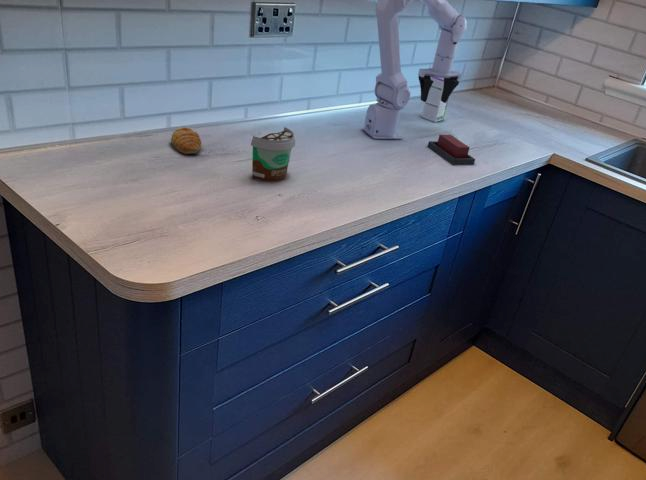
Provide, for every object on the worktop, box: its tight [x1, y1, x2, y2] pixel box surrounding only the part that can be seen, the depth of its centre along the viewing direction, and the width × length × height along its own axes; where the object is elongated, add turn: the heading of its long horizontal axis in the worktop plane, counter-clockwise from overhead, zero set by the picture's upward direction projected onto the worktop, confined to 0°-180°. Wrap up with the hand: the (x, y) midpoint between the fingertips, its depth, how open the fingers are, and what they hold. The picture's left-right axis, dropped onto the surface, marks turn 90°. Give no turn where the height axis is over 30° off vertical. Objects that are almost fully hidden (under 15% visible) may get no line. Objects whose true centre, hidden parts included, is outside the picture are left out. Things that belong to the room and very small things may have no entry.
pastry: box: [170, 126, 202, 155], centre depth 142 cm, size 9×7×4 cm
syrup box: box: [421, 77, 450, 123], centre depth 199 cm, size 6×6×14 cm
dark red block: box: [437, 133, 471, 158], centre depth 173 cm, size 4×10×4 cm, turn 26°
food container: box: [250, 126, 296, 183], centre depth 135 cm, size 12×6×10 cm, turn 148°
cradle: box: [427, 140, 476, 166], centre depth 174 cm, size 8×14×2 cm, turn 26°
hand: (433, 101), depth 185 cm, fingers open, 7 cm apart
